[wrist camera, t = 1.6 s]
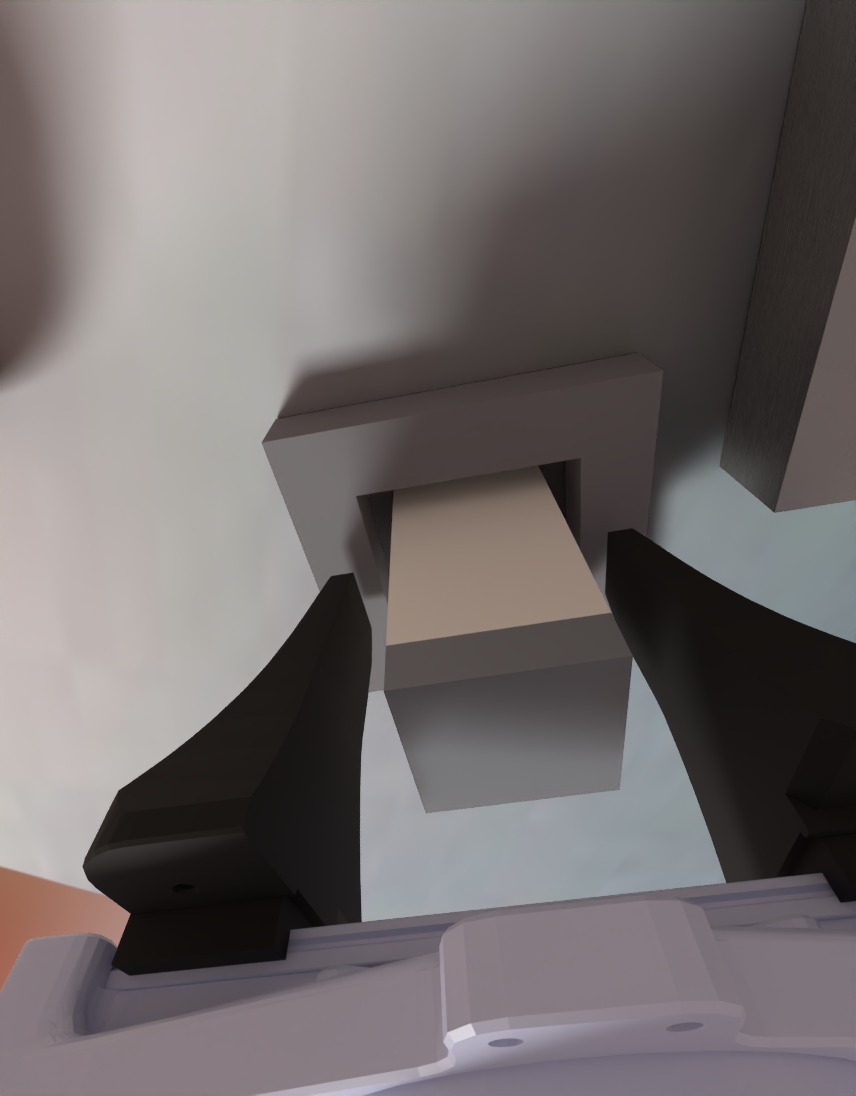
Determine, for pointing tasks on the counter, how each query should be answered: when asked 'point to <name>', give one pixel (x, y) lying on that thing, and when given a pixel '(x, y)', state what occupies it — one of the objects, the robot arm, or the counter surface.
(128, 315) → the counter surface
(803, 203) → the port block
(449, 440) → the gray square frame
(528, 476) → the plug
